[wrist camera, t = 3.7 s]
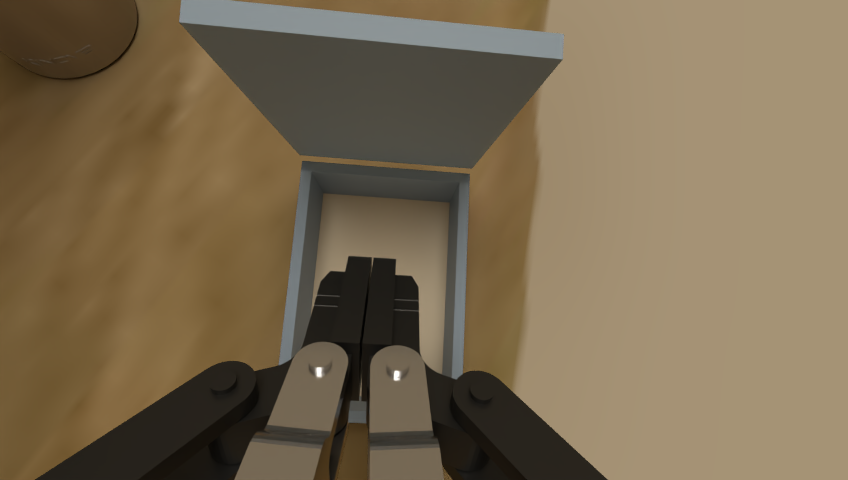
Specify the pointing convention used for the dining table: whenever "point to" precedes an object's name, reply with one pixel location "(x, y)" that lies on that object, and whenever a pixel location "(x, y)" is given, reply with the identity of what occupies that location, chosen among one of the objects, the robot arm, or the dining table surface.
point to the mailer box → (383, 249)
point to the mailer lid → (375, 78)
